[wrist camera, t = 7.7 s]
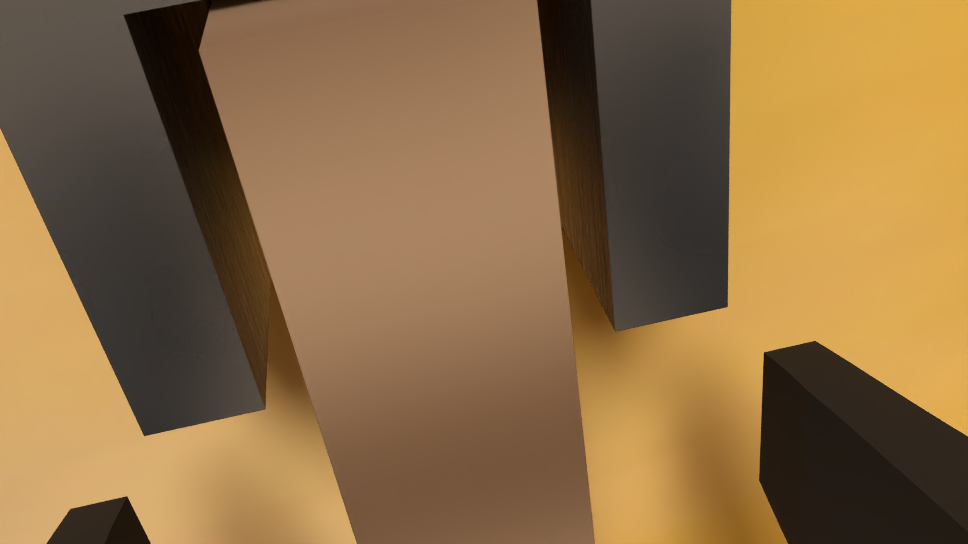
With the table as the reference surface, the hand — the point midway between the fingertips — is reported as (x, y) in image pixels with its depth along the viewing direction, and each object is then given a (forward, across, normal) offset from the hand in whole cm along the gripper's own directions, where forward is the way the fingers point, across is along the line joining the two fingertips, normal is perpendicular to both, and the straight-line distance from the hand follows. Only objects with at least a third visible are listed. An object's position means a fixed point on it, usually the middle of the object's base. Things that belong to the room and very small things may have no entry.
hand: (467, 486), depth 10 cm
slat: (+4, 0, -1) cm, 4 cm away
